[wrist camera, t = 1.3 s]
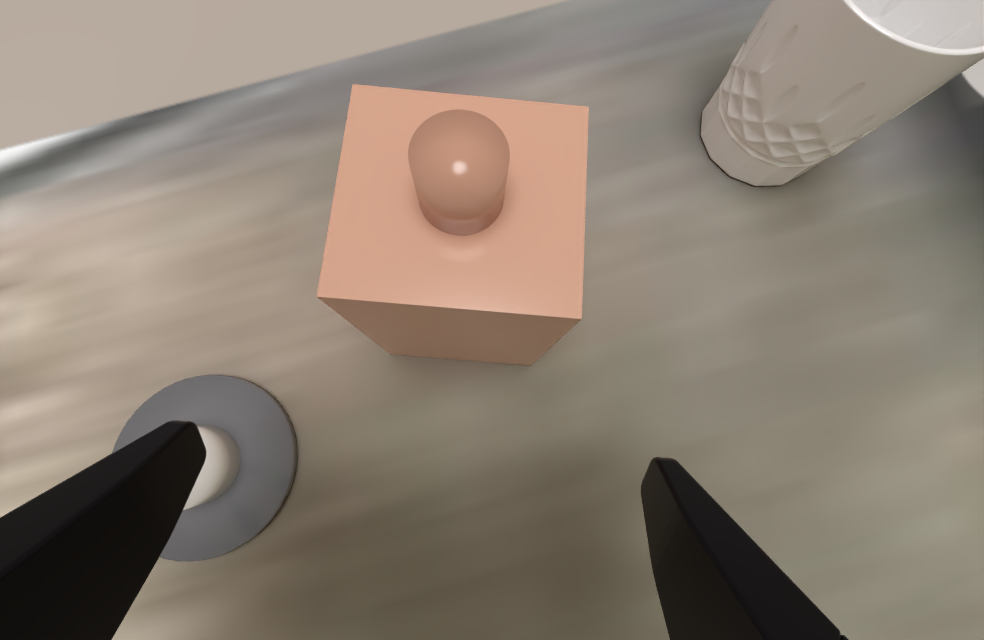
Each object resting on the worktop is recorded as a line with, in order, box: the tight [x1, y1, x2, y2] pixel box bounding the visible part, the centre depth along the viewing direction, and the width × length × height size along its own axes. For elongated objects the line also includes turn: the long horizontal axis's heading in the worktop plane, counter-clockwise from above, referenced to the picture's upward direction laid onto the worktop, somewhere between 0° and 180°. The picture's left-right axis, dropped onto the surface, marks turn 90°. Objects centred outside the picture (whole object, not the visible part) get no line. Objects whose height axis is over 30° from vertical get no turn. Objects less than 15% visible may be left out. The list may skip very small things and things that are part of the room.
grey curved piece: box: [112, 375, 297, 561], centre depth 20 cm, size 8×8×1 cm
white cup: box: [701, 0, 984, 186], centre depth 21 cm, size 8×8×10 cm
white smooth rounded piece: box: [183, 425, 240, 510], centre depth 19 cm, size 3×3×2 cm
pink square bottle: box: [317, 84, 589, 366], centre depth 17 cm, size 6×7×13 cm
